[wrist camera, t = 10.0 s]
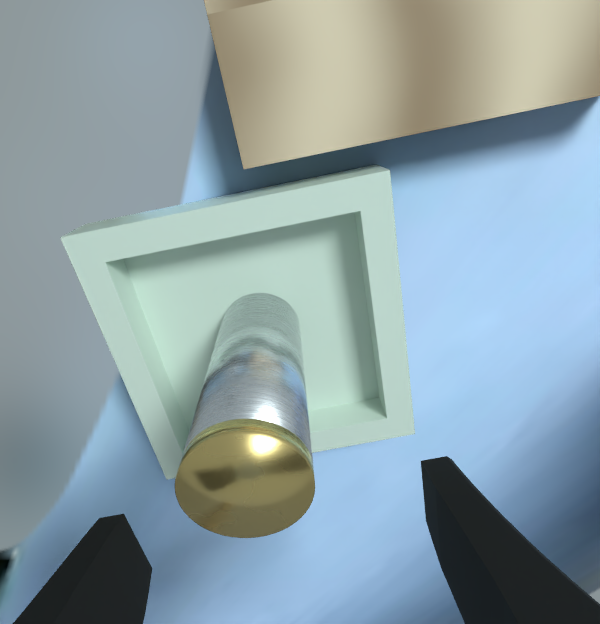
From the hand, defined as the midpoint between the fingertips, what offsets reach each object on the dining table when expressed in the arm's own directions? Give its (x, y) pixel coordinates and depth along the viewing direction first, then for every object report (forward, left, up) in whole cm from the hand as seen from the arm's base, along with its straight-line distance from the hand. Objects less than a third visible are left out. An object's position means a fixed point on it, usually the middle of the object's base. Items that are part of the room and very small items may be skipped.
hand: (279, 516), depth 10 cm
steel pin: (+1, 0, -10) cm, 10 cm away
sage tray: (+1, 0, -10) cm, 10 cm away
